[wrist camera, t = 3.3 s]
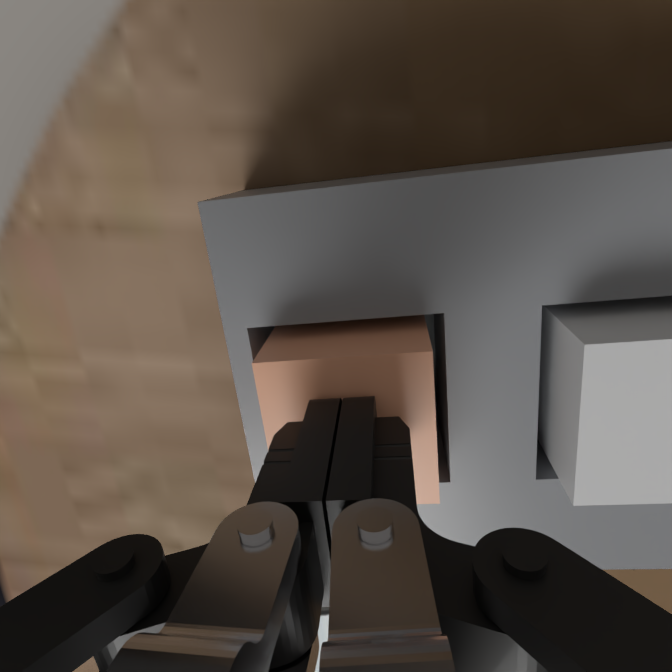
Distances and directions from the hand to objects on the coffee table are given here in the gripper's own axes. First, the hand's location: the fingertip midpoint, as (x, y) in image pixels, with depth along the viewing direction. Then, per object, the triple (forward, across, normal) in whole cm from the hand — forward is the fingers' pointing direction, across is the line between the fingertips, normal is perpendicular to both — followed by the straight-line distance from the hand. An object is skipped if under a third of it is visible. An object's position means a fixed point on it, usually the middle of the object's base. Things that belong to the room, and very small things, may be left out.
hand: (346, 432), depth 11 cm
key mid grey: (+3, -7, 0) cm, 8 cm away
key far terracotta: (+3, 0, 0) cm, 3 cm away
